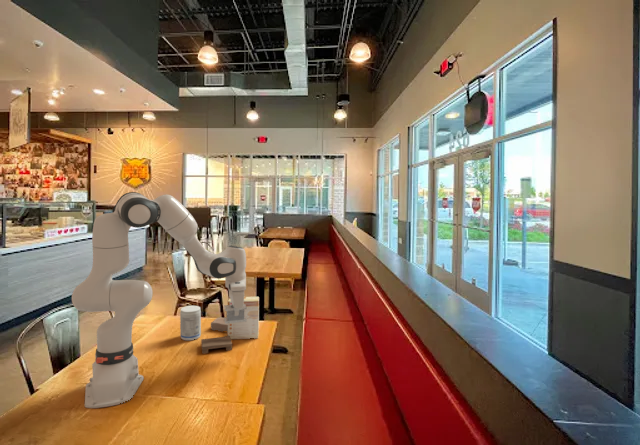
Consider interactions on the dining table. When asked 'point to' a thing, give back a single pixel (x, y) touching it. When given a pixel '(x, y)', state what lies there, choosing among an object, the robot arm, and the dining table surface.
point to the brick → (219, 324)
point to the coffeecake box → (252, 321)
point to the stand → (216, 343)
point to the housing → (231, 317)
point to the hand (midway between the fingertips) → (235, 312)
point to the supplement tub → (190, 322)
